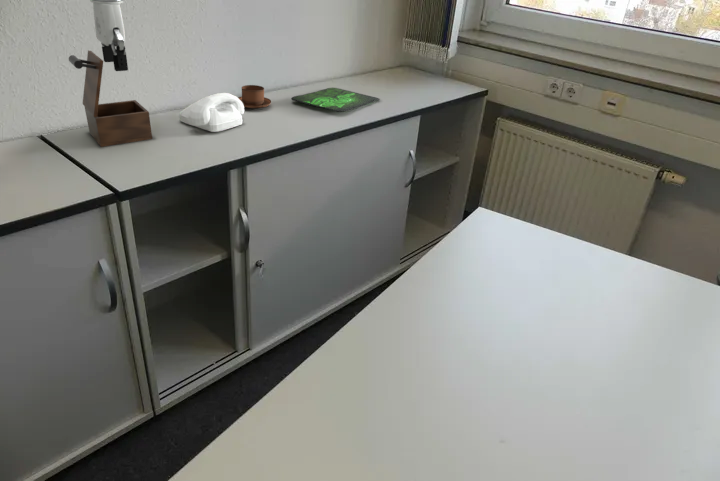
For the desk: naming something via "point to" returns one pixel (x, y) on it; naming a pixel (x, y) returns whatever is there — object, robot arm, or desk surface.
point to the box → (119, 123)
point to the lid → (90, 80)
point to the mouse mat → (335, 99)
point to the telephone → (214, 112)
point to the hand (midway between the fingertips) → (115, 66)
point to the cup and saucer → (254, 97)
